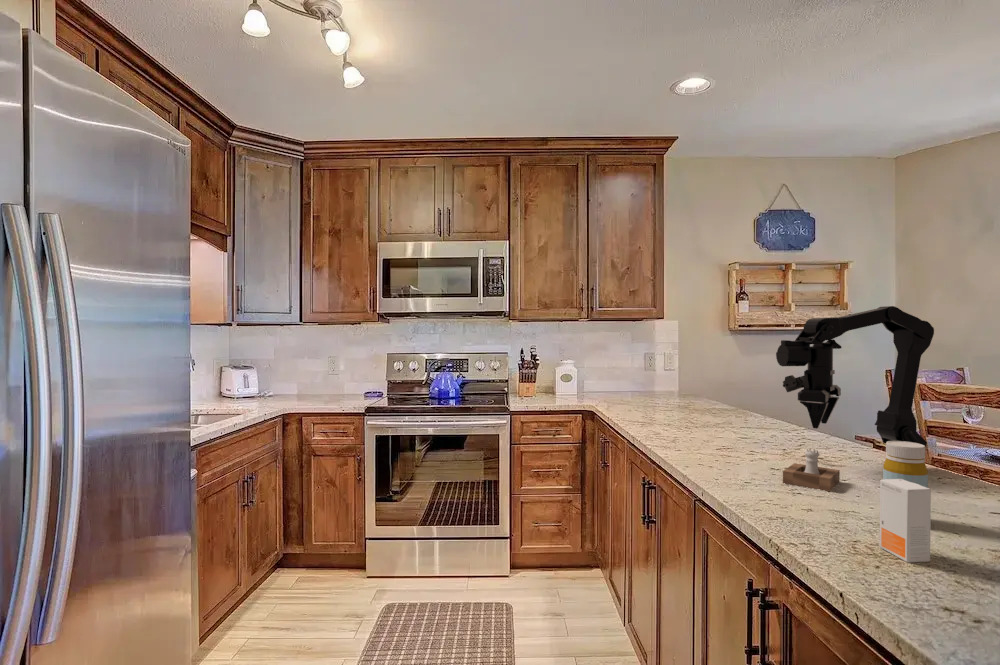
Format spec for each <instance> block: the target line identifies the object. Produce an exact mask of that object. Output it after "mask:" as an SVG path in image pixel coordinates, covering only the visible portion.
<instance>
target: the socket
mask: <svg viewBox="0 0 1000 665" xmlns="http://www.w3.org/2000/svg"><path fill="white" fill-rule="evenodd" d="M805 468H806V464H803V463H802V464H801V463H796V462H794V463H793V464H791V465H790V466H788V467H786V468H785V469H783V470H782V484H784V483H785V484H784V485H789V484H790V485H791V486H795V485H797V487H800V486H803V487H802V488H806V487H808V488H807V489H812V488H814V489H813V490H817V489H820V490H819V491H823V490H825V491H824V492H829V491H830V492H831V491H832V490H834V488H835V487H837V486H838V485H839V483H840V480H841V478H840V477H841V476H840V475H841V474H840V469H835V468H828V467H820V466H818V471H819V473H820V475H818V474H812V473H806V472H804V471H805Z"/></svg>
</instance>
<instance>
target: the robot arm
mask: <svg viewBox="0 0 1000 665" xmlns="http://www.w3.org/2000/svg"><path fill="white" fill-rule="evenodd" d="M879 324H882V325H883V327H884V328H885V329H886V330H888V331H889V332H890V333H892V334H893V343H894V346H895V349H896V351H897V358H896V363H895V368H894V375H893V378H892V379H893V380H892V385H891V391H890V397H889V402H888V405H887V407H886V408H885V409H884V410H881V409H880V410H877V413H876V415H877V416H876V421H875V423H874V426H876V432H877V433H878V434H879V437H881V440H882V443H883V444H884V445H886V442H887V441H906V442H913V443H918V444H922V445H924V446H925V448H926V447H927V444H928V442H927V441H926V440H925V439H924V438H923V437H922V436H921V434H920V433H918V432H917V423H918V422H917V419H916V417H915V415H914V412H913V405H914V404H913V403H914V399H915V398H914V397H915V393H916V386H917V381H918V376H919V370H920V365H921V358H922V355H923V354H924V353H925V352H926V351H927V349H929V347H930V346H931V343H932V341H933V337H934V335H935V328H934V327H933V325H932V324H931V323H930V322H929V321H927V320H922V319H921V318H919V317H917V316H915V315H913V314H910V313H909V312H908V313H907V312H906V311H903V310H902V309H900V308H899V307H897V306H893V305H892V306H891V305H889V306H879V307H877V308H874V309H870V310H869V309H867V310H865V311H860V312H856V313H852V314H847V315H843V316H837V317H815V318H814V317H813V318H812V317H811V318H809V319H807V320H806V321H805V323H804V326H803V328H802V330H801V331H800V333H799V334H798V335H797V337H796V338H795V340H787V339H783V340H781V341H780V345H779V346H778V348H777V351H776V353H775V358H776V361H777V364H778V365H779V366H780V367H805V366H807V369H805V370H804V371H803V375H800V376H796V377H795V376H794V375H793V374H792V375H791V374H790V375H786V376H785V377H784V380H783V381H782V387H783V388H785V391H786V393H790V392H794V391H796V390H798V389H801V390H799V391H797V401H799V403H800V404H801V405H803V406H804V407H805V408H806V409H807V412H808V415H809V418H810V422H811V426H812V428H813V429H819V427H820V425H821V424H825V425H826V424H827V423H828V421H829V418H830V417H831V416H832V415H831V414H832V413H833V411H834V408H835V407H836V405H837V402H838V401H839V399H840V396H842V395H841V394H842V392H841V391H842V389H841V387H839V385H837V384H834V383H833V382H834V378H833V377H834V375H835V374H836V372H835V369H834V350H840V349H842V346H841V344H839V343H838V342H837V341H836V340H835V338H838V337H840V336H842V335H844V334H845V333H847V332H849V331H852V330H858V329H862V328H867V327H870V326H875V325H879Z"/></svg>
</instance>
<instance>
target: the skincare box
mask: <svg viewBox="0 0 1000 665" xmlns="http://www.w3.org/2000/svg"><path fill="white" fill-rule="evenodd" d="M879 481H880V482H879V545H878V547H879V548H880V549H882V550H884V551H886V552H888V553H890V554H892V555H893V556H895V557H897V558H899V559H901V560H902V561H904V562H906V563H908V564H909V563H926V562H929V563H930V562H931V528H932V527H931V525H932V524H931V522H932V520H931V517H932V516H931V513H932V512H931V511H932V510H931V508H932V506H931V504H932V490H931V488H929V487H928V488H926V487H923V486H921V485H919V484H916V483H912V482H909V481H906V480H903V479H883V478H882V479H880V480H879Z"/></svg>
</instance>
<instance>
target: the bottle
mask: <svg viewBox="0 0 1000 665" xmlns="http://www.w3.org/2000/svg"><path fill="white" fill-rule="evenodd" d="M885 453H886V454H885V458H886V459H885V461H884V463H883V466H882V467H883V468H882V469H883V470H882V471H883V472H882V479H903V480H906V481H909V482H912V483H916V484H919V485H921V486H923V487H926V488H929V471H928V467H927V466H926V463H925V462H926V460H925V459H926V458H925V457H926V447H925V446H924V445H922V444H918V443H913V442H906V441H887V442H886V444H885Z"/></svg>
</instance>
